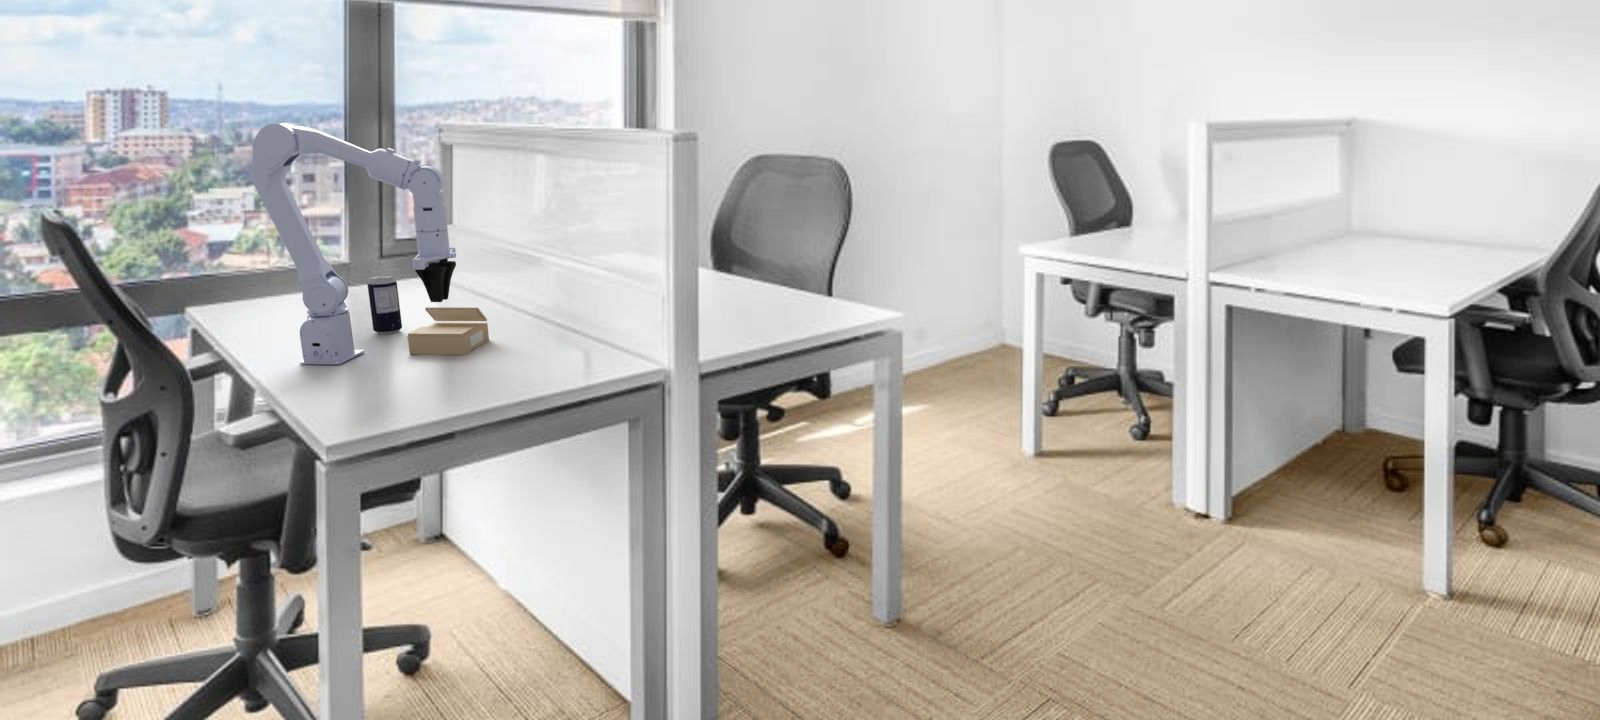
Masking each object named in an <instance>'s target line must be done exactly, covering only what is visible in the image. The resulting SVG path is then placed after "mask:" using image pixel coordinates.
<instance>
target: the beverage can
mask: <svg viewBox="0 0 1600 720" xmlns="http://www.w3.org/2000/svg"><path fill="white" fill-rule="evenodd" d="M367 292H368V299H369V306H370V314H371V320H372V321H371V322H372V323H371V324H372V330H373V332H375V333H377V335H379V336H380V335H381V336H389V335H395V334H398V333H399V332H400V330H401V329H402V328H403V323H402V316H401V308H400V299H399V298H400V297H399V291H398V281H397V280H396V278H395V276H394V274H378V275H372V276H368V282H367Z"/></svg>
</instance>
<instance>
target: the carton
mask: <svg viewBox="0 0 1600 720" xmlns="http://www.w3.org/2000/svg"><path fill="white" fill-rule="evenodd" d="M489 335H490V334H489V325H488V322H434V323H431V324H430V325H427V326H420V327H418V328H416V329H414V330H412V331H410V332H408V333H407V343H408V350H409V355H410V354H422V355H424V356H425V355H429V356H430V355H432V356H434V355H435V356H437V355H438V356H466V355H467V354H469V353H470V352H472V351H474V350H475V349H477V348H478V347H480V346H482V345H484V344H485V343H486V342H487V343H488V341H490V337H489Z"/></svg>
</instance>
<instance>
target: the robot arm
mask: <svg viewBox="0 0 1600 720" xmlns="http://www.w3.org/2000/svg"><path fill="white" fill-rule="evenodd" d="M251 147H252V148H251V149H252V159H251V169H250V179H251V182H252V185H253V186H254V188H255V190H256V191H257V194H258V196H259V198H260V199H261V201H262V203H263V205H264V207H265V209H266V211H267V213H268V215H269V217H270V219H271V221H272V223H273V225H274V227H275V229H276V230H277V232H278V234H279V236H280V239H281V241H282V242H283V244H284V246H285V249H287V252H288V254H289V256H290V258H291V260H292V261H293V264H294V266H295V267H296V270H297V277H298V282H299V285H300V287H301V290H302V302H303V304H304V306H305V308H307V311H306V314H307V319H306V320H305V321H304V322H303V323H302V324H301V326H300V329H299V339H300V340H299V341H300V344H301V353H302V358H303V359H302V360H300V361H299V365H342V364H343V363H345V362H348V361H349V360H352V359H353V358H355V357H358V356H359V355H361V354H364V353H365V350H364V349H355V345H354V339H353V338H354V337H353V329H352V322H351V315H350V308H349V306H348V305H347V304H346V302H345V300H346V299H347V298H348V295H349V286H348V284H347V282H346V280H345V279H344V278H342V277H341V276H340V275H339V274H337V272H336V271H335V269H334V268H333V265H332V264H331V263H330V262H329V261H328V260H327V259H326V258H325V257H324V255H323V253H322V251H321V249H320V247H319V245H318V243H317V241H316V239H315V237H314V235H313V233H312V231H311V229H310V227H309V225H308V223H307V221H306V219H305V217H304V215H303V213H302V211H301V209H300V208H299V206H298V203H297V201H296V200H295V197H294V196H293V193H292V191H291V189H290V188H289V186H288V183H287V181H286V176H287V174H288V173H289V171H290V168H291V167H292V164H293V163H294V161H295V160H297V158H299V157H300V155H301V156H302V155H309V154H323V155H325V156H328V157H332V158H334V159H337V160H340V161H343V162H347V163H349V164H353V165H355V166H358V167H361V168H363V169H365V170H366V172H367V174H368V176H369V177H370V178H372V179H374V180H377V181H379V182H382V183H385V184H388V185H390V186H392V187H395V188H398V189H402V190H409V191H410V193H411V194H412V200H413V201H412V202H413V207H412V210H413V217H414V227H415V236H416V245H417V254H416V256H415V257H414V258H413V259H411V263H412V270H414V271H415V273H416V274H417V275H418V277H419V278H420V280H421V281H422V283H423V285H424V288H425V290H426V293H427V296H428V299H429V300H430V303H442V302H443V301H444V300H446V301H447V300H448V299H449V294H450V286H451V281H452V276H453V273H454V272H455V271H454V270H455V268H456V267H457V262H456V261H454V260H450V259H455V258H457V252H456V247H450V242H449V241H450V239H449V231H448V230H449V229H448V222H447V211H446V210H447V209H446V205H445V204H444V201H445V196H444V195H443V192H442V191H441V190H443V187H444V177H443V174H442V173H441V171H440V170H439V169H437V168H436V167H434V166H433V165H431V164H427V163H426V164H425V163H424V164H421V160H419V159H417V158H415V159H410V158H407V157H405V156H403V155H400V154H397V153H395V151H396V150H395V149H393V148H392V147H391V148H390V147H388V148H386V149H384V148H377V149H375V150H374V151H369V150H367V149H364V148H361V147H359V146H357V145H355V144H352V143H350V142H347V141H345V140H343V139H339V138H338V137H336V136H333V135H330V134H328V133H326V132H323V131H320V130H317V129H314V128H311V127H308V126H306V127H305V126H302V125H301V126H299V125H297V124H295V123H292V122H289V121H288V122H287V121H286V122H285V121H284V122H280V123H279V122H278V123H269V124H265V125H264V126H262V127H261V128H260V130H259V131H258V133H257V134H256V136H255V138H254V139H253V140H252V143H251Z"/></svg>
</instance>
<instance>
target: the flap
mask: <svg viewBox="0 0 1600 720" xmlns="http://www.w3.org/2000/svg"><path fill="white" fill-rule="evenodd" d="M424 310H425V311H426V312H427V314H428V315H429V316H430V317H431V318H432V319H433V321H434V322H487V321H488V319H487V317H486V316H485V314H484V313H483V312H482V311H481V309H480V308H479V307H425V309H424Z"/></svg>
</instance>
